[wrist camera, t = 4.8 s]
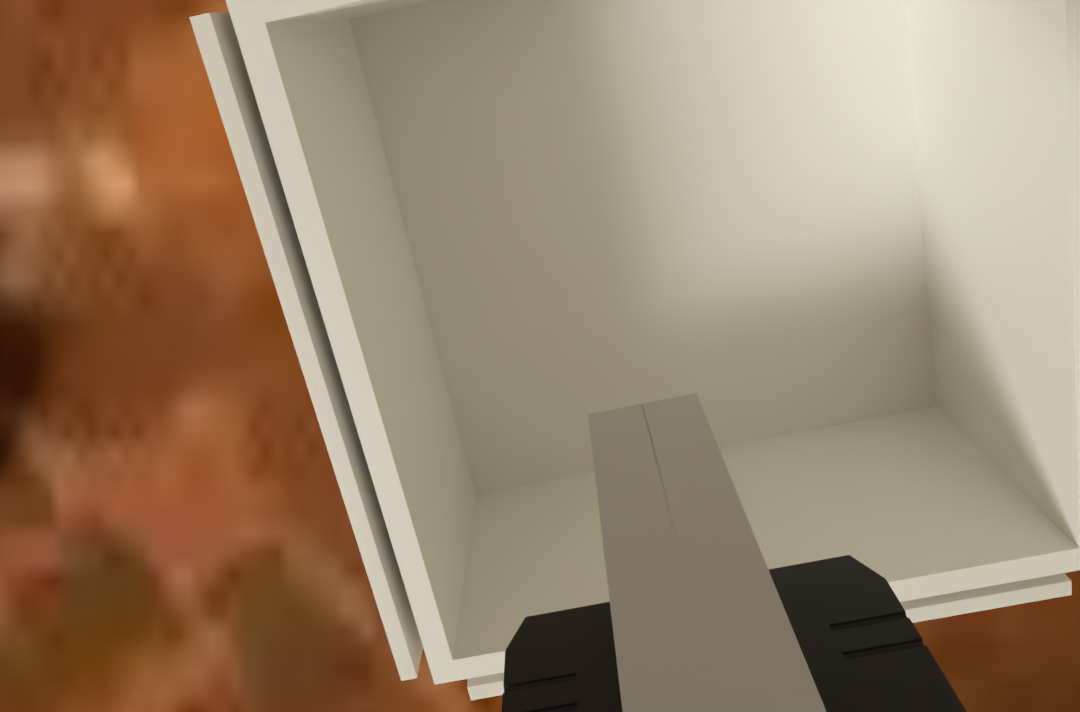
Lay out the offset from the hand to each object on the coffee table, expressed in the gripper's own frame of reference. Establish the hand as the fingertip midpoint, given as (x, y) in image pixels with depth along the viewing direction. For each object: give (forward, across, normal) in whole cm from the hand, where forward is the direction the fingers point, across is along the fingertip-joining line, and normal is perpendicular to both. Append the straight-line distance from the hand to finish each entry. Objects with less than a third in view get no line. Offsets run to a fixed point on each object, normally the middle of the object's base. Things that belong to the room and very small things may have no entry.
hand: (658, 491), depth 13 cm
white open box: (+16, +2, 0) cm, 16 cm away
